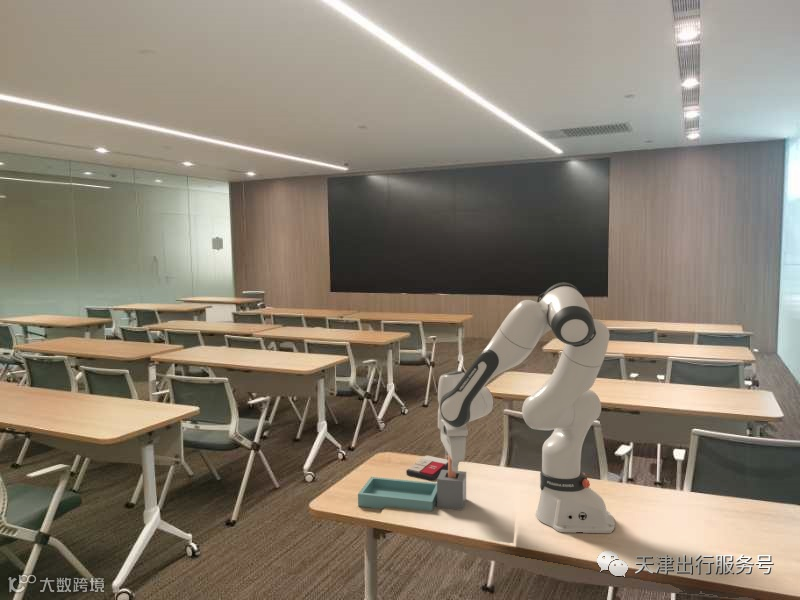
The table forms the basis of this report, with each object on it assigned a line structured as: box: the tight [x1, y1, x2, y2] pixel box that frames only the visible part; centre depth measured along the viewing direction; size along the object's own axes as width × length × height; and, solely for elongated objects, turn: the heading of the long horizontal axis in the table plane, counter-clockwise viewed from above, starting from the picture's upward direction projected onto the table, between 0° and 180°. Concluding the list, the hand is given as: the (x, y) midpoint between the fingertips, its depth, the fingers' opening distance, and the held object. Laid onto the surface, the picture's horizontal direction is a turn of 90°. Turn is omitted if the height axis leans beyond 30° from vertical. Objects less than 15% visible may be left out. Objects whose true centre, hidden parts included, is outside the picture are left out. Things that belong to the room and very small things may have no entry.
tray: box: [357, 476, 437, 512], centre depth 179 cm, size 24×14×4 cm, turn 76°
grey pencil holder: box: [436, 470, 467, 511], centre depth 174 cm, size 8×8×10 cm
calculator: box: [405, 454, 448, 482], centre depth 201 cm, size 11×4×15 cm
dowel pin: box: [448, 454, 456, 478], centre depth 174 cm, size 2×2×16 cm
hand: (451, 465), depth 174 cm, fingers open, 8 cm apart
